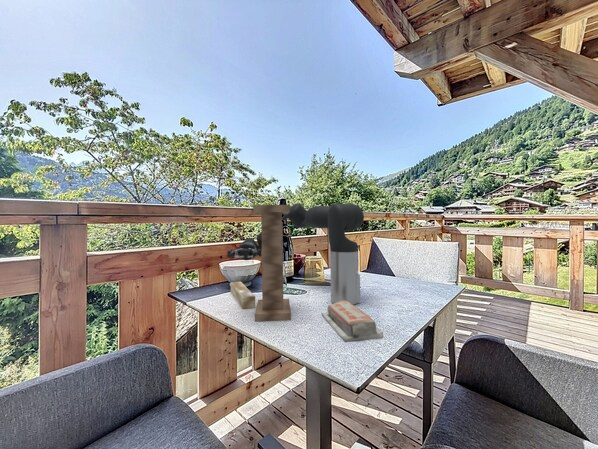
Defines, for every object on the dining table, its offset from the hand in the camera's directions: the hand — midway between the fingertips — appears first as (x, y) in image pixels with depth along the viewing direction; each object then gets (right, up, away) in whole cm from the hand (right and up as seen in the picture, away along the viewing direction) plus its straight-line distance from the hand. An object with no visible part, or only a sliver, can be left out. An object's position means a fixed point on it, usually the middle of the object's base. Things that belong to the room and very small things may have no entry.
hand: (242, 255), depth 106 cm
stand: (+15, -14, -27) cm, 34 cm away
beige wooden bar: (+2, -15, -12) cm, 19 cm away
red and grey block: (+36, -15, -37) cm, 54 cm away
